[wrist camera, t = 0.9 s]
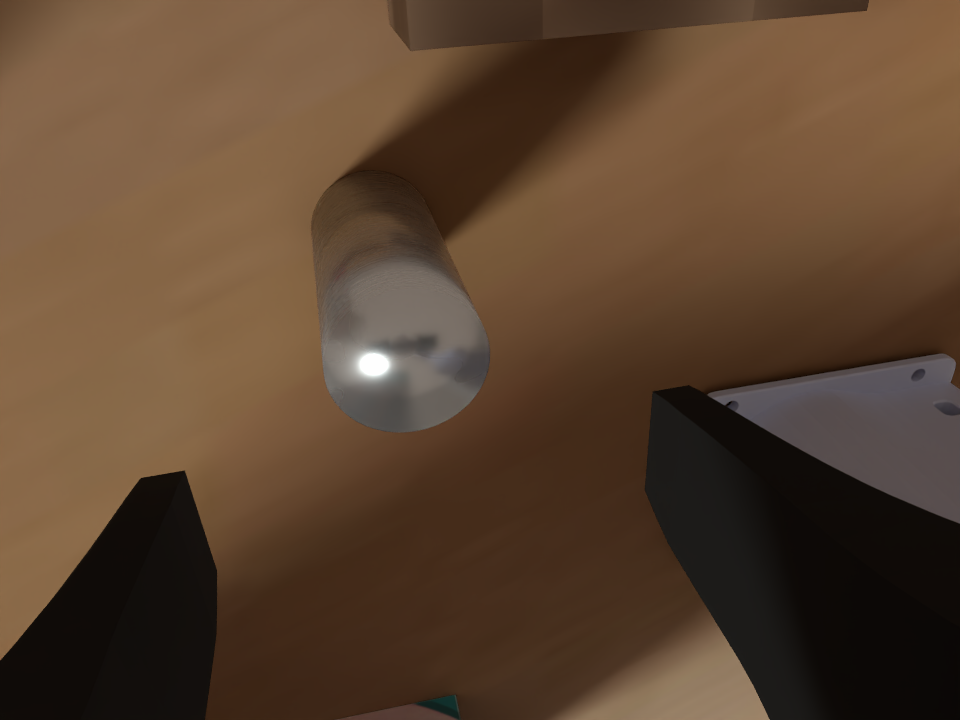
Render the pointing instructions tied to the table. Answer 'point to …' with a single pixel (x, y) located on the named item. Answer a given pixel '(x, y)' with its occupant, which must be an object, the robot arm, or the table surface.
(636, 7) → the square hole block
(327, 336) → the round metal peg
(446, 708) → the cake mix box
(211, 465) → the table surface
